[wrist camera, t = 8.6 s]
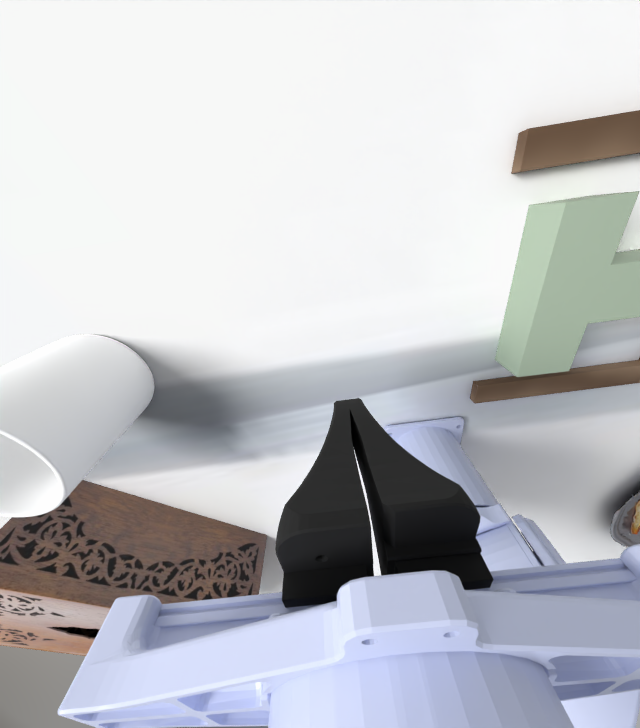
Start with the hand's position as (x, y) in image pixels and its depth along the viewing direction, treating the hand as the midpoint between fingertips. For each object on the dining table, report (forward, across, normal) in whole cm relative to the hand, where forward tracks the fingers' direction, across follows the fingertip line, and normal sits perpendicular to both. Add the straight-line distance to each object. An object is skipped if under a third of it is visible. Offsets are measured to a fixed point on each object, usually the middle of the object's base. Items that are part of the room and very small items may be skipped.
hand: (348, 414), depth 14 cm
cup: (+10, +22, 0) cm, 24 cm away
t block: (+9, -20, -2) cm, 22 cm away
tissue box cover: (+10, +27, +25) cm, 38 cm away
